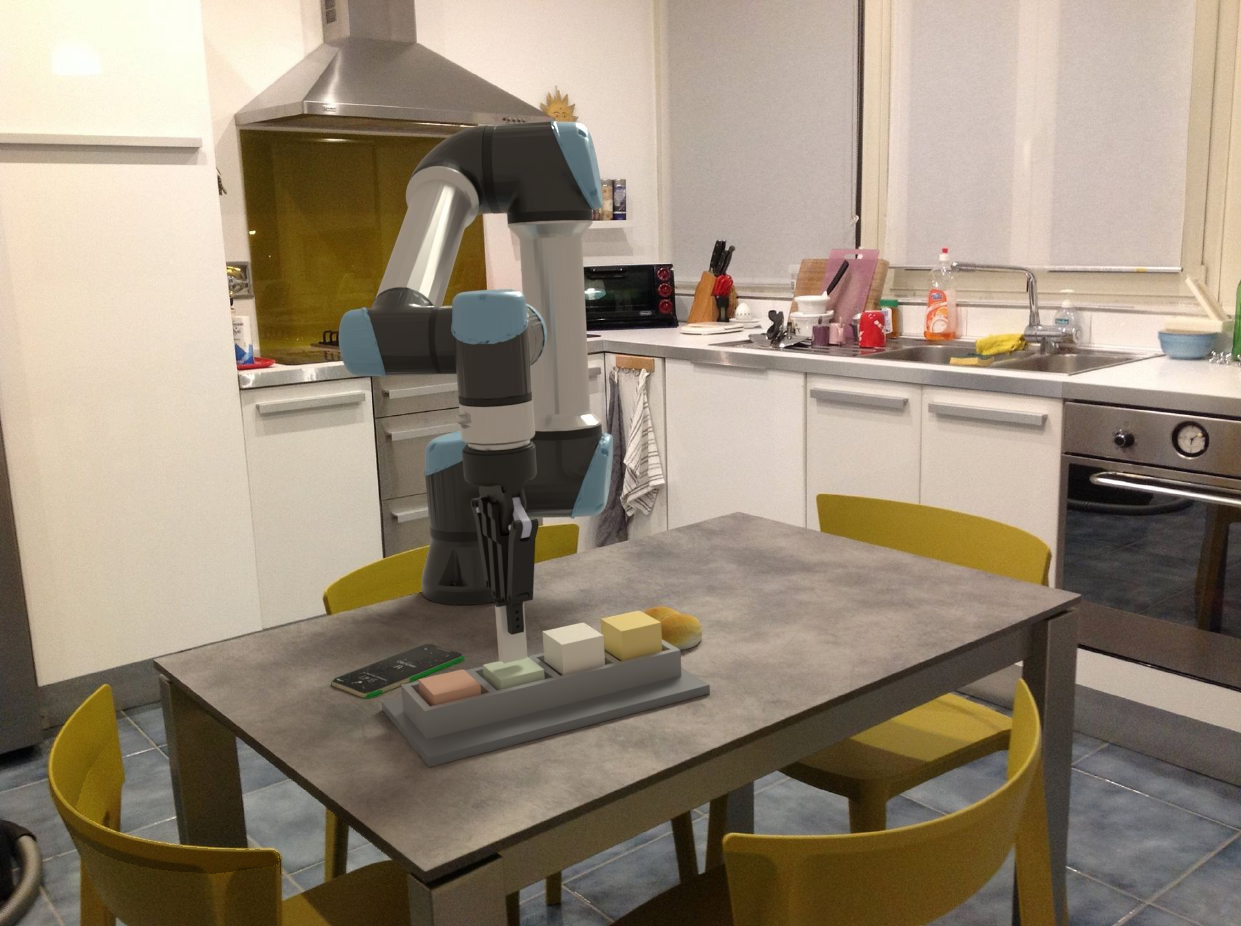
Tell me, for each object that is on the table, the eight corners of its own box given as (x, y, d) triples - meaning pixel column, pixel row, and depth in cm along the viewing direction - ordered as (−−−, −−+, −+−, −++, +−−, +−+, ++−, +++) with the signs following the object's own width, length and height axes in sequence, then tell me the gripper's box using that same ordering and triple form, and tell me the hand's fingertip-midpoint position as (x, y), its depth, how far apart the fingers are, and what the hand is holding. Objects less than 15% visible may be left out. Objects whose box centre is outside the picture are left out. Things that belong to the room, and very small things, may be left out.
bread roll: (669, 659, 135) (668, 627, 134) (620, 641, 141) (619, 610, 141) (718, 640, 140) (717, 609, 139) (668, 624, 147) (667, 594, 146)
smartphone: (468, 654, 137) (367, 695, 126) (468, 661, 137) (367, 703, 126) (427, 641, 142) (327, 679, 131) (428, 648, 142) (327, 687, 131)
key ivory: (544, 661, 125) (542, 631, 125) (584, 651, 128) (583, 622, 127) (563, 675, 121) (561, 644, 120) (605, 665, 123) (603, 635, 122)
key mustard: (602, 647, 129) (600, 618, 128) (640, 639, 131) (639, 610, 130) (622, 661, 124) (621, 631, 123) (662, 652, 126) (661, 622, 126)
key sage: (485, 695, 122) (482, 664, 122) (527, 685, 125) (525, 655, 124) (502, 711, 118) (500, 679, 117) (545, 700, 120) (544, 669, 120)
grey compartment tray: (382, 709, 123) (379, 675, 122) (639, 649, 138) (638, 618, 137) (429, 766, 109) (426, 728, 108) (709, 693, 124) (708, 658, 123)
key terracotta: (421, 710, 119) (418, 679, 119) (465, 699, 121) (463, 669, 121) (436, 727, 115) (433, 695, 114) (482, 716, 117) (480, 684, 116)
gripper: (442, 437, 120) (459, 647, 125) (487, 457, 109) (503, 686, 114) (508, 429, 123) (521, 633, 128) (558, 447, 112) (571, 670, 117)
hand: (513, 658), depth 121 cm, fingers closed
